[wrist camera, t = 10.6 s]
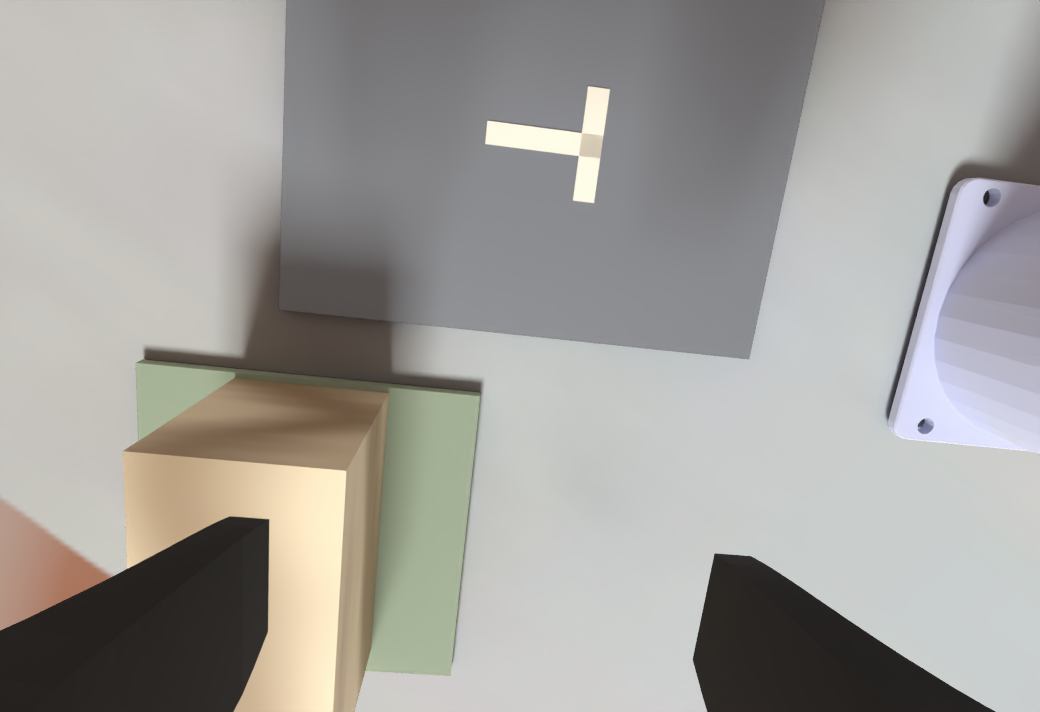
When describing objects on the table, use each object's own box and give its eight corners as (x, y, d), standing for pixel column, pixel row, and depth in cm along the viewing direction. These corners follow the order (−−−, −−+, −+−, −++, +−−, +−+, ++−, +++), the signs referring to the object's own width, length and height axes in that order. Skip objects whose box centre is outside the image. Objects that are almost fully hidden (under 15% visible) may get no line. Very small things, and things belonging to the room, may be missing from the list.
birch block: (389, 393, 18) (346, 470, 13) (370, 649, 20) (327, 810, 15) (234, 378, 18) (123, 451, 12) (232, 640, 20) (135, 801, 14)
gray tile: (873, -264, 15) (884, -277, 15) (743, 356, 19) (749, 359, 18) (301, -373, 14) (295, -391, 13) (283, 307, 18) (278, 309, 17)
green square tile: (480, 392, 18) (480, 396, 18) (451, 667, 21) (450, 675, 20) (143, 359, 18) (135, 362, 17) (151, 648, 20) (144, 657, 20)
